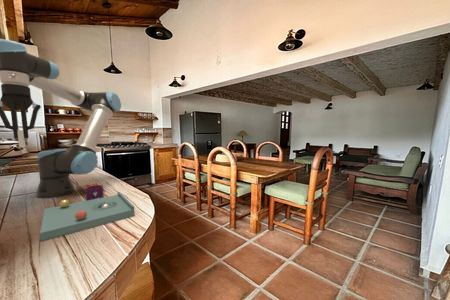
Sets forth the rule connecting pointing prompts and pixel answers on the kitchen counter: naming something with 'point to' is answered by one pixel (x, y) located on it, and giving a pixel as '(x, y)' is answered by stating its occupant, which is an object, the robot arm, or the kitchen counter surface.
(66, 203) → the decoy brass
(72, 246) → the kitchen counter surface
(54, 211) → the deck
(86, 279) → the kitchen counter surface
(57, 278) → the kitchen counter surface
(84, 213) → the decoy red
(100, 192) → the mug
